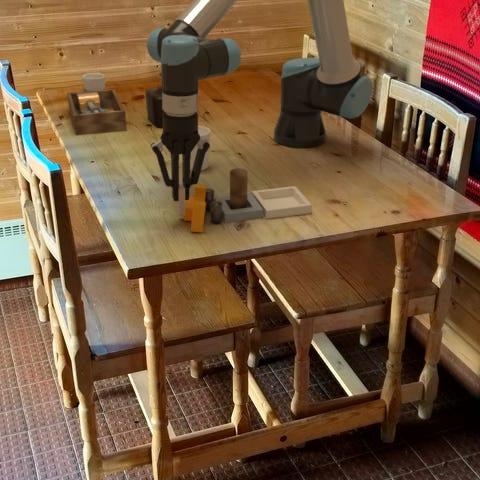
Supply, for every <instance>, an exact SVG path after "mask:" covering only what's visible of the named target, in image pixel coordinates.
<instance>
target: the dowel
mask: <svg viewBox="0 0 480 480" xmlns="http://www.w3.org/2000/svg"><path fill="white" fill-rule="evenodd" d="M248 174H249V173H248V170H247V169H245V168H240V167H239V168H232V169H231V170H230V171H229V196H230V209H231V210H234V209H242V208H247V194H248V182H249V181H248V177H249V175H248Z"/></svg>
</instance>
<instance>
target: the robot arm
mask: <svg viewBox="0 0 480 480" xmlns="http://www.w3.org/2000/svg"><path fill="white" fill-rule="evenodd" d="M238 1H239V0H192V1H191V2H190V3H189V5H187V7H185V9H184V10H183V11H182V13H180V14H179V16H178V17H177V18H176V19H175V20H174V21H173V23H171V24H170V26H169V27H168V28H165V27H162V28H161V27H158V28H155V29H154V30H152V31H151V32H150V34H149V36H148V38H147V43H146V48H147V50H146V51H147V52H148V55H149V57H150V58H151V59H153V60H154V61H156V62H158V63H160V67H161V73H162V76H161V86H162V109H163V111H164V113H163V114H162V116H163V128H162V133H161V135H160V140H158V141H157V142H152V143H151V144H150V148H151V150H152V152H153V153H154V154H155V156H156V159H157V162H158V166H159V169H160V173H161V176H162V180H163V182H164V184H165V186H166V187H167V188H168V187H169V188H171V197H172V200H173V201H174V202H176V212H177V214H178V216H179V217H182V216H183V217H184V215H185V202H186V200H189V197H190V189H191V186H193V185H195V184H196V185H198V183H199V179H200V175H201V168H202V164H203V161H204V157H205V153H206V152H207V150H208V149H209V147H210V148H211V144H209V143H208V141H207V140H203V139H202V138H200V135H199V133H198V126H199V114H198V112H197V111H198V110H199V81H201V80H202V81H203V80H207V79H212V78H217V77H220V76H226V75H228V74H230V73H233V72H235V71H236V70H237V69H238V68H239V66H240V65H241V61H242V60H241V58H242V57H241V56H242V55H241V54H242V53H241V49H240V47H239V45H238V43H237V42H236V41H235V40H234V39H232V38H229V37H225V38H222V37H219V38H217V39H210V38H207V37H208V35H209V34H210V33H211V32H212V31H213V29H215V27H217V25H218V24H219V22H220V21H221V20H223V18H224V17H225V16H226V15H227V13H228V12H229V11H230V10H231V9H232V8H233V6H235V4H236V3H237V2H238ZM307 6H308V9H309V14H310V21H311V24H312V31H313V35H314V40H315V44H316V45H315V46H316V50H317V55H318V57H299V58H295V59H291V60H287V61H286V62H285V63H283V65H282V68H281V69H282V70H281V76H280V80H281V83H280V86H281V87H280V113H279V116H278V118H277V121H276V124H275V126H274V129H273V140H274V141H275V142H276V143H277V144H279V145H283V146H286V147H290V148H299V149H302V148H303V149H304V148H305V149H307V148H314V147H318V146H321V145H323V144H324V143H325V142H326V137H327V136H326V135H327V133H326V128H325V124H324V120H323V117H322V112H324V113H327V114H331V115H335V116H337V117H340V118H348V119H356V118H358V117H359V116H361V115H362V114H363V113H364V112H365V111H366V109H367V107H368V105H369V104H370V100H371V98H372V93H373V89H374V88H373V87H374V86H373V81H372V79H371V78H370V77H369V76H367V75H362V69H361V65H360V62H358V61H357V59H355V58H354V57H353V51H352V50H353V49H352V45H351V39H350V38H351V37H350V33H349V27H348V19H347V15H346V8H345V6H346V5H345V1H344V0H307ZM197 143H198V145H197ZM196 145H197V146H198V149H197V153H196V157H195V161H194V165H193V169H192V171H190V158H191V152H192V150H193V149H194V147H195V146H196ZM164 147H165V148H166V149H167V150H168V152H169V153H170V159H171V160H170V161H171V162H170V167H171V170H170V172H171V174H170V175H171V178H170V175H169V172H168V168H167V165H166V164H167V163H166V161H165V157H164V154H163V152H164ZM180 155H181V157H182V158H181V159H182V160H181V161H182V162H181V163H182V164H181V166H182V167H181V168H182V170H181V171H182V172H181V173H182V180H181V181H182V183H180Z"/></svg>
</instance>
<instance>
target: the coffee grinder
mask: <svg viewBox="0 0 480 480" xmlns="http://www.w3.org/2000/svg"><path fill="white" fill-rule="evenodd" d="M158 75H159V77H162V72H160V73H158ZM145 100H146V111H147V112H146V114H147V121H149V122H150V123H151V124H152V125H153V126H154V127H155V128H156V129H163V116H162V114H163V113H164V111H163V109H162V85H160V86H158V87H157V88H151V89H146V90H145Z"/></svg>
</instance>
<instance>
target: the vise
mask: <svg viewBox="0 0 480 480" xmlns="http://www.w3.org/2000/svg"><path fill="white" fill-rule="evenodd" d="M76 104H77V110H76V113H77V114H87V113H98V112H107V110H106V109H102V108H101V106H100V101H99V96H98V93H97V92H89V93H79V94H76ZM110 111H114V109H112V110H110Z"/></svg>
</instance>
